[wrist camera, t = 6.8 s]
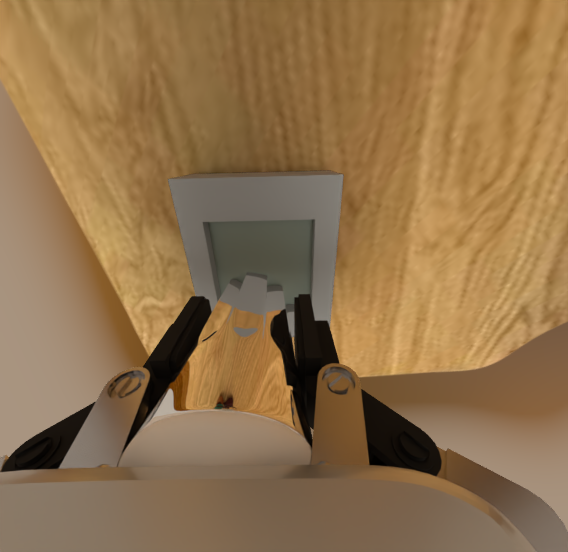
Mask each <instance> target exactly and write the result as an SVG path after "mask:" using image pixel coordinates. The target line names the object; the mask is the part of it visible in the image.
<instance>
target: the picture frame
mask: <svg viewBox="0 0 568 552" xmlns="http://www.w3.org/2000/svg"><path fill="white" fill-rule="evenodd" d="M343 176H344V175H343V174H340V173H337V172H334V171H330V170H327V171H288V172H249V173H209V174H191V175H186V176H181V177H176V178H171V179H168V182H169V186H170V190H171V194H172V199H173V203H174V207H175V211H176V215H177V219H178V224H179V228H180V232H181V236H182V240H183V244H184V249H185V253H186V257H187V261H188V265H189V269H190V274H191V278H192V282H193V286H194V290H195V294H196V296H204V297H205V298H206V299H209V301H210V306H211V311H213V309H214V308H215V306H216V304H217V302H218V301H219V299H220V297H221V296H222V294H223V292H224V290H225V289H226V287H227V285H228V283H229V282H230V280H231V279H232V278H234V277H236V276H238V275H240V274H242V273H244V272H245V271H247V270H251V271H260V272H268V273H269V274H270V275H271V276H273V277H274V278H275V279H276V280H278V281H279V282H280V283H281V284H282V287H283V291H284V296H285V300H286V306H287V312H288V319H289V325H290V331H291V337H294V297H298V295H299V294H310V297H311V302H312V307H313V312H314V318H315V321H320V320H327V321H328V323H329V327H330V320H331V309H332V298H333V287H334V275H335V264H336V253H337V242H338V231H339V220H340V209H341V198H342V187H343Z"/></svg>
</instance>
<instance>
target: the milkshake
mask: <svg viewBox="0 0 568 552" xmlns="http://www.w3.org/2000/svg"><path fill="white" fill-rule="evenodd" d="M312 444H313V439H312V434H311V429H310V424H309V419H308V415H307V410H306V405H305V400H304V395H303V390H302V386H301V381H300V377H299V372H298V369H297V365H296V362H295V356H294V350H293V343H292V337H291V331H290V325H289V319H288V312H287V306H286V300H285V296H284V291H283V287H282V284H281V283H280V282H279V281H278V280H276V279H275V278H274V277H273V276H271V275H270V274H269V273H268V272H260V271H251V270H247V271H245V272H244V273H242V274H240V275H238V276H236V277H234V278H232V279H231V280H230V282H229V283H228V285H227V287H226V289H225V290H224V292H223V294H222V296H221V297H220V299H219V301H218V302H217V304H216V306H215V308H214V309H213V311H212V313H211V314H210V316H209V318H208V320H207V321H206V323H205V325H204V326H203V328H202V330H201V332H200V333H199V335H198V337H197V338H196V340H195V342H194V343H193V345H192V346H191V348H190V350H189V351H188V353H187V354H186V356H185V357H184V359H183V360H182V362H181V364H180V365H179V367H178V368H177V370H176V371H175V373H174V374H173V376H172V378H171V379H170V381H169V382H168V384H167V385H166V387H165V389H164V390H163V392H162V393H161V395H160V397H159V398H158V400H157V401H156V403H155V404H154V406H153V408H152V409H151V411H150V412H149V414H148V415H147V417H146V419H145V420H144V422H143V423H142V425H141V426H140V428H139V430H138V431H137V433H136V434H135V436H134V438H133V440H132V441H131V442H130V443H129V445H128V446H127V448H126V449H125V451H124V453H123V455H122V457H121V459H120V462H119V465H118V467H155V466H222V465H311V457H312Z"/></svg>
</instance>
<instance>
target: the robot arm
mask: <svg viewBox="0 0 568 552" xmlns="http://www.w3.org/2000/svg"><path fill="white" fill-rule="evenodd" d="M211 313H212V311H211V306H210V301H209V299H206V298H205V297H204V296H192V297H191V298H190V300H189V301H188V303H187V304H186V306H185V307H184V309H183V310H182V312H181V313H180V315H179V316H178V318H177V319H176V321H175V322H174V324H172V325H171V326H170V327H169V329H168V330H167V332H166V333H165V335H164V336H163V338H162V339H161V341H160V342H159V344H158V345H157V346H156V348H155V349H154V351H153V352H152V354H151V355H150V357H149V358H148V360H147V361H146V363H145V365H144V366H143V367H134V368H130V369H127V370H125V371H122V372H120V373H119V374H117V375H116V376H114V377H113V378H112V379H111V380H110V381H109V382H108V383H107V384H106V386H105V387H104V388H103V390H102V392H101V394H100V396H99V398H98V399H97V401H96V402H94V403H93V404H91V405H89V406H87V407H85V408H84V409H82V410H80V411H78V412H76V413H75V414H73V415H71V416H69V417H68V418H66V419H64V420H62V421H60V422H58V423H57V424H55V425H53V426H51V427H50V428H48V429H46V430H44V431H43V432H41V433H39V434H37V435H35V436H34V437H32V438H31V439H29V440H28V441H26V442H25V443H24V444H22V445H21V446H20V447H19V448H18V449H17V450H15V452H14V453H13V454H12V455H11V456H10V457H8V456H7V455H5V456H3V457H1V458H0V552H568V532H567V530H566V527H565V525H564V523H563V522H562V521H561V519H560V518H559V517H558V515H557V514H556V513H555V511H554V510H553V509H552V508H550V506H549V505H548V504H546V503H545V502H544V501H543V500H542V499H541V498H540V497H538V496H537V495H535V494H533V493H532V492H530V491H529V490H527V489H525V488H523V487H521V486H520V485H518V484H516V483H514V482H512V481H510V480H508V479H506V478H504V477H502V476H500V475H498V474H496V473H494V472H492V471H491V470H489V469H487V468H484V467H483V466H481V465H479V464H477V463H475V462H473V461H471V460H469V459H467V458H465V457H463V456H461V455H460V454H458V453H456V452H454V451H452V450H450V449H447V450H446V451H444V450H442V449H440V448H439V447H437V446H436V444H435V443H434V442H433V440H432V439H431V438H430V437H429V436H428V435H427V434H426V433H425V432H424V431H422V430H421V429H420V428H418V427H417V426H415V425H414V424H412V423H411V422H409V421H408V420H407V419H405V418H404V417H402V416H401V415H399V414H398V413H396V412H394V411H393V410H392V409H390V408H389V407H387V406H386V405H384V404H383V403H381V402H380V401H378V400H377V399H375V398H374V397H372V396H371V395H369V394H368V393H366V392H365V391H364V390H362V389H361V385H360V380H359V377H358V376H357V374H356V373H355V372H354V371H353V370H352V369H351V368H349V367H347V366H345V365H342V364H339V360H338V356H337V353H336V349H335V345H334V342H333V338H332V334H331V331H330V327H329V323H328V321H327V320H320V321H315V318H314V312H313V307H312V302H311V297H310V294H299V295H298V297H294V344H295V362H296V365H297V369H298V372H299V377H300V381H301V386H302V390H303V395H304V400H305V405H306V410H307V415H308V419H309V424H310V427H311V428H312V429H313V430H314V431H313V444H312V457H311V465H222V466H155V467H118V465H119V462H120V459H121V457H122V455H123V453H124V451H125V449H126V448H127V446H128V445H129V443H130V442H131V441H132V440H133V438H134V436H135V434H136V433H137V431H138V430H139V428H140V426H141V425H142V423H143V422H144V420H145V419H146V417H147V415H148V414H149V412H150V411H151V409H152V408H153V406H154V404H155V403H156V401H157V400H158V398H159V397H160V395H161V393H162V392H163V390H164V389H165V387H166V385H167V384H168V382H169V381H170V379H171V378H172V376H173V374H174V373H175V371H176V370H177V368H178V367H179V365H180V364H181V362H182V360H183V359H184V357H185V356H186V354H187V353H188V351H189V350H190V348H191V346H192V345H193V343H194V342H195V340H196V338H197V337H198V335H199V333H200V332H201V330H202V328H203V326H204V325H205V323H206V321H207V320H208V318H209V316H210V314H211Z"/></svg>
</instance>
